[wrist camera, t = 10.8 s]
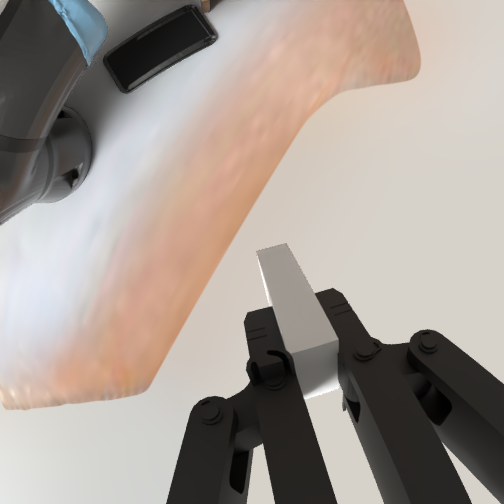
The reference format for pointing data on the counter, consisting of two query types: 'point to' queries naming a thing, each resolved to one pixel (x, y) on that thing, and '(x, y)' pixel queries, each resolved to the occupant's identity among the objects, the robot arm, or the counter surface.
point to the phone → (158, 48)
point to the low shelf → (205, 5)
